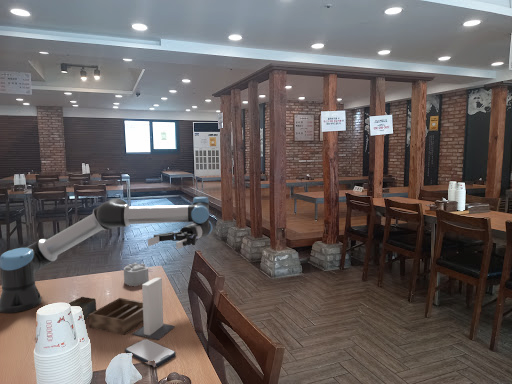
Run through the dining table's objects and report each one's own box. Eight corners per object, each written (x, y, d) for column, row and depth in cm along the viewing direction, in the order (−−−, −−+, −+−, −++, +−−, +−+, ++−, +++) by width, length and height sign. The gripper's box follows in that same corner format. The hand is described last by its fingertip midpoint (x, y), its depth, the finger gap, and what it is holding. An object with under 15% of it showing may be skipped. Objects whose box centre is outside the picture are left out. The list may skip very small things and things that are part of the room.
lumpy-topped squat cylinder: (131, 287, 169) (130, 270, 169) (120, 280, 179) (119, 264, 178) (151, 282, 177) (150, 265, 176) (139, 276, 186) (138, 259, 185)
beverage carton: (40, 332, 127) (38, 314, 127) (82, 310, 145) (82, 294, 145) (56, 335, 125) (55, 317, 124) (98, 313, 142) (97, 297, 142)
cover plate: (144, 334, 124) (142, 284, 122) (157, 324, 132) (156, 277, 130) (149, 335, 123) (147, 285, 121) (163, 325, 131) (161, 277, 129)
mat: (132, 334, 125) (132, 333, 125) (150, 322, 134) (149, 321, 134) (158, 340, 121) (158, 338, 121) (174, 326, 130) (174, 325, 130)
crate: (89, 327, 130) (88, 314, 130) (120, 309, 145) (119, 297, 145) (124, 334, 125) (123, 321, 124) (152, 315, 140) (152, 303, 139)
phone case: (123, 353, 114) (154, 370, 105) (122, 349, 114) (154, 364, 104) (146, 342, 121) (177, 356, 112) (145, 337, 121) (177, 351, 112)
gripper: (215, 243, 158) (189, 256, 138) (167, 239, 166) (137, 250, 147) (214, 227, 157) (189, 237, 137) (167, 223, 166) (137, 232, 146)
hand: (162, 244), depth 142 cm, fingers open, 13 cm apart
